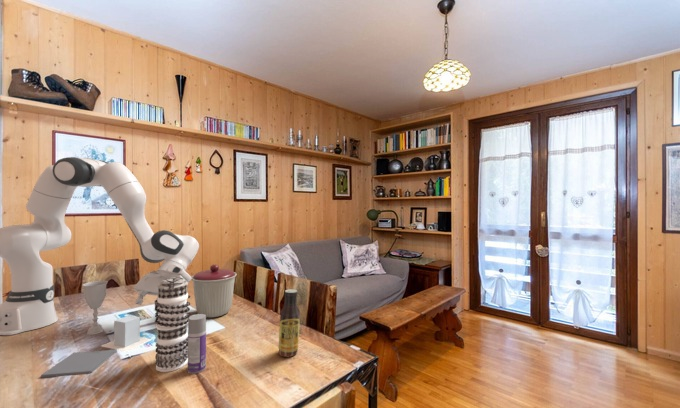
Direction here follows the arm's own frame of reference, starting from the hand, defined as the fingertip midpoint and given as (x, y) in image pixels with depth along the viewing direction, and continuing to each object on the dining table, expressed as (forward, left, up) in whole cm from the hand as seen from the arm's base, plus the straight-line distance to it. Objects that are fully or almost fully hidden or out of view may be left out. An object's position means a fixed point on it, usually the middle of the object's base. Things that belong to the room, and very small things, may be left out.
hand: (147, 305), depth 105 cm
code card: (-3, -6, -10) cm, 13 cm away
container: (+25, -26, -11) cm, 38 cm away
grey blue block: (-3, -6, -10) cm, 12 cm away
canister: (+19, +18, -11) cm, 28 cm away
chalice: (-19, +5, -11) cm, 22 cm away
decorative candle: (+17, -22, -11) cm, 30 cm away
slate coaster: (-9, -18, -10) cm, 23 cm away
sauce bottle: (+51, -21, -11) cm, 56 cm away
